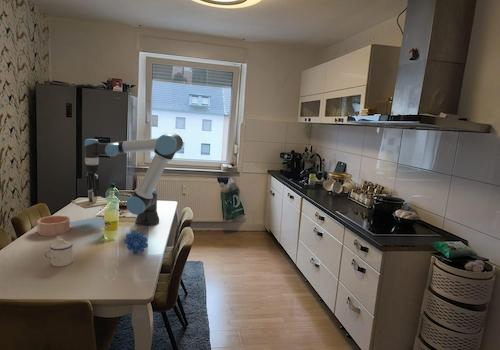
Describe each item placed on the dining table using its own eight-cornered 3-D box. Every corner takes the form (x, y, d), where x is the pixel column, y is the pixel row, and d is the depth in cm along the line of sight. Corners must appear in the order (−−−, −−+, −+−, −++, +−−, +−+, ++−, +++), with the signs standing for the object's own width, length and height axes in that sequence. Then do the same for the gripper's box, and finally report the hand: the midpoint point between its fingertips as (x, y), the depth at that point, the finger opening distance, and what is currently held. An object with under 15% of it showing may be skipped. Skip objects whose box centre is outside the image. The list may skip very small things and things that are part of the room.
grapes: (123, 256, 167) (123, 234, 165) (124, 251, 173) (124, 229, 171) (147, 255, 170) (147, 233, 168) (147, 250, 176) (148, 229, 174)
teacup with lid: (73, 257, 162) (73, 235, 160) (72, 265, 154) (71, 242, 152) (45, 260, 157) (44, 237, 155) (42, 269, 149) (40, 244, 147)
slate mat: (118, 224, 212) (118, 224, 212) (83, 232, 195) (83, 231, 195) (101, 216, 226) (101, 216, 226) (67, 223, 209) (67, 222, 209)
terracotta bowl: (74, 231, 196) (74, 220, 195) (44, 238, 184) (43, 226, 182) (62, 224, 206) (62, 214, 205) (33, 230, 194) (33, 219, 192)
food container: (134, 205, 259) (134, 192, 257) (130, 207, 253) (130, 194, 251) (119, 203, 260) (119, 191, 258) (115, 205, 254) (115, 193, 252)
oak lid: (113, 203, 209) (113, 192, 208) (85, 208, 196) (84, 196, 194) (99, 198, 221) (99, 187, 219) (71, 202, 207) (71, 191, 205)
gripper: (79, 162, 206) (80, 198, 210) (92, 166, 196) (93, 204, 200) (91, 161, 212) (92, 197, 216) (104, 165, 201) (105, 202, 205)
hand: (92, 200), depth 208 cm, fingers closed on oak lid, 4 cm apart
